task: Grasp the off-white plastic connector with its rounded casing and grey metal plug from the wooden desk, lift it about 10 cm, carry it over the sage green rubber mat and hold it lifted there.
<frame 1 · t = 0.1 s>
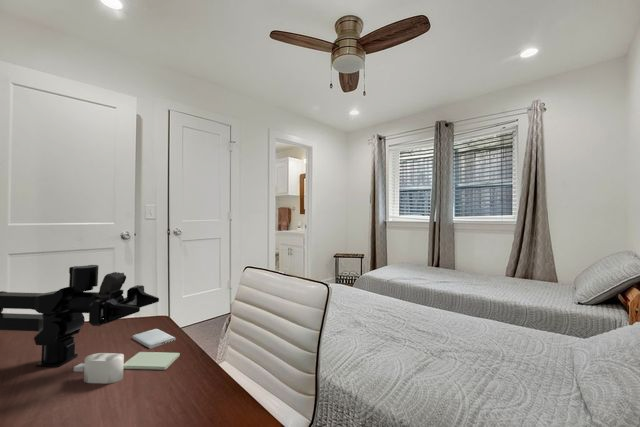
hand: (149, 304, 82), 17 cm above the table, tool horizontal, fingers open, 9 cm apart
sage mat: (151, 361, 83), on the table
hard drive: (153, 341, 97), on the table
connector: (103, 378, 74), on the table
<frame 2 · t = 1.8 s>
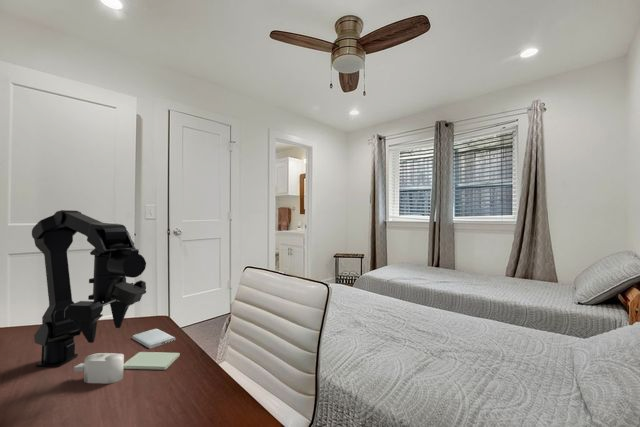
hand: (105, 334, 74), 11 cm above the table, tool pointing down, fingers open, 9 cm apart
nothing on the table moved.
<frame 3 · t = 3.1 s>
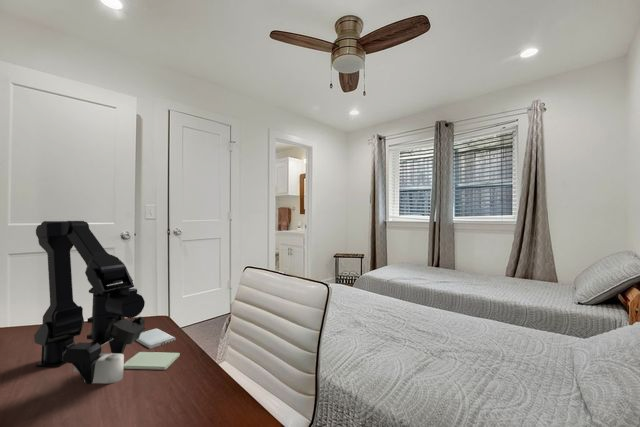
hand: (104, 373, 74), 1 cm above the table, tool pointing down, fingers open, 9 cm apart
nothing on the table moved.
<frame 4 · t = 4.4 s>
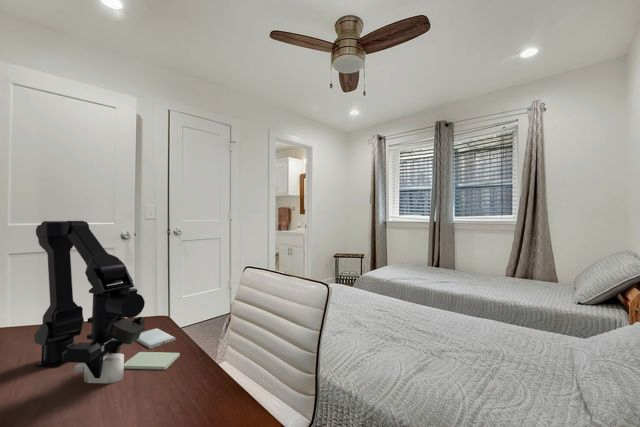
hand: (104, 373, 74), 1 cm above the table, tool pointing down, fingers closed on connector, 4 cm apart
connector: (103, 378, 74), on the table, touching gripper
everything else where it was.
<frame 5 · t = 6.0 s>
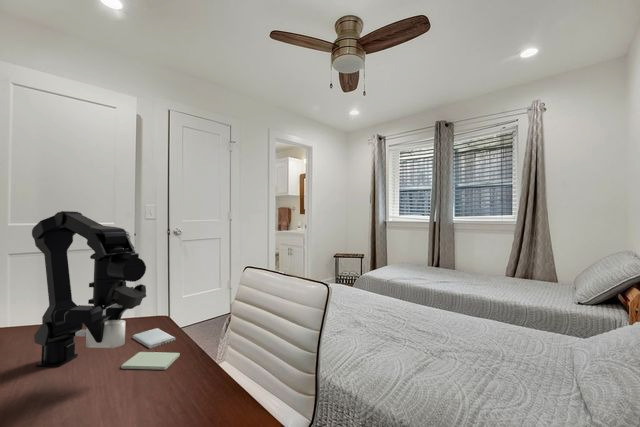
hand: (105, 338, 74), 10 cm above the table, tool pointing down, fingers closed on connector, 4 cm apart
connector: (105, 344, 74), point 9 cm above the table, touching gripper
everything else where it was.
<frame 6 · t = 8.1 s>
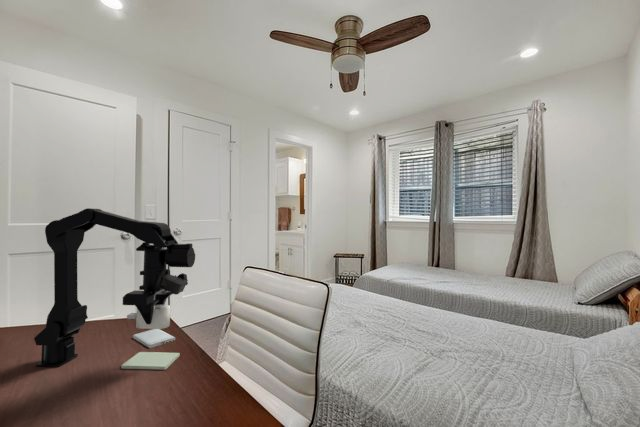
hand: (153, 321, 83), 11 cm above the table, tool pointing down, fingers closed on connector, 4 cm apart
connector: (153, 326, 83), point 10 cm above the table, touching gripper
everything else where it was.
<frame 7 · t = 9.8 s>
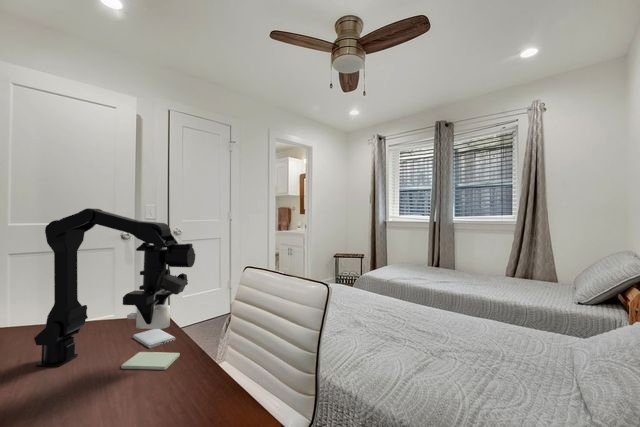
hand: (153, 321, 83), 11 cm above the table, tool pointing down, fingers closed on connector, 4 cm apart
connector: (153, 326, 83), point 10 cm above the table, touching gripper
everything else where it was.
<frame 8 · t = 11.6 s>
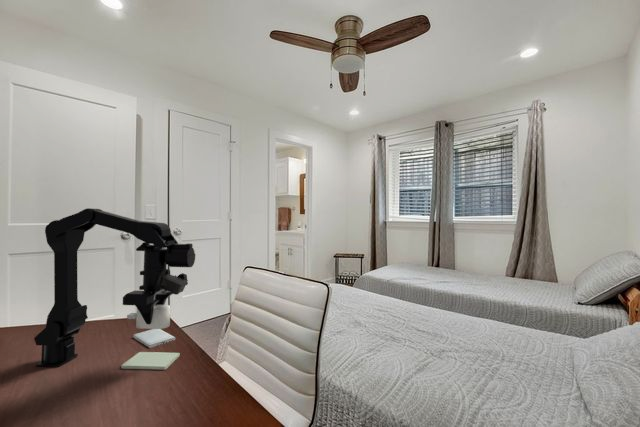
hand: (153, 321, 83), 11 cm above the table, tool pointing down, fingers closed on connector, 4 cm apart
connector: (153, 326, 83), point 10 cm above the table, touching gripper
everything else where it was.
at the end: the gripper is holding connector; connector inside the target area (0.0 cm from its centre), point 10.1 cm above the table; connector tilted 0° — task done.
